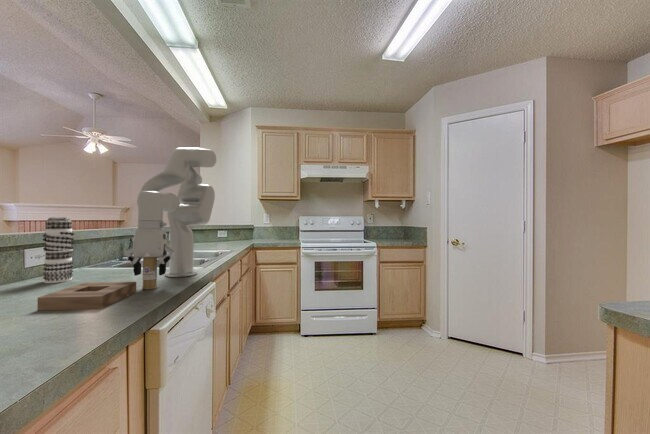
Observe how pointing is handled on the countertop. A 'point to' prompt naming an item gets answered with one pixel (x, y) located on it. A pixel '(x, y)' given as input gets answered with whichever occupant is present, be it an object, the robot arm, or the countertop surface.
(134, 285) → the walnut hole board
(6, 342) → the countertop surface
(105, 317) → the countertop surface
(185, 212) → the robot arm
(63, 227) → the decorative candle
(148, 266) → the sprinkles bottle
